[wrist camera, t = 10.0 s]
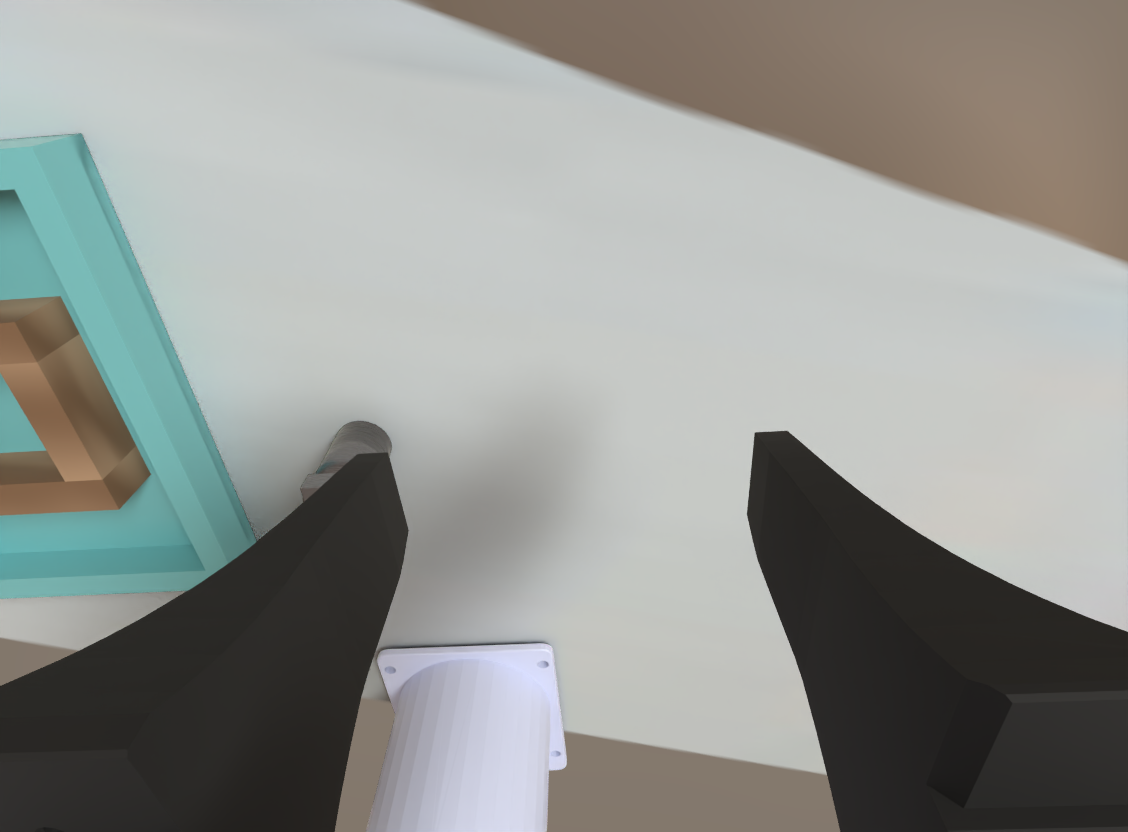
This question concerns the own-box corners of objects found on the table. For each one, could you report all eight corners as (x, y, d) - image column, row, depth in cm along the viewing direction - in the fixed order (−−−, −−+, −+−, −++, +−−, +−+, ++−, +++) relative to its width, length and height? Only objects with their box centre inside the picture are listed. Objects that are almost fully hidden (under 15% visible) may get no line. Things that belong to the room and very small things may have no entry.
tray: (261, 551, 27) (240, 588, 25) (-18, 564, 28) (-56, 601, 26) (81, 133, 19) (31, 146, 17) (-315, 165, 19) (-401, 180, 17)
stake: (398, 471, 25) (368, 549, 21) (346, 473, 25) (308, 552, 21) (383, 412, 23) (348, 486, 20) (328, 415, 23) (283, 489, 20)
